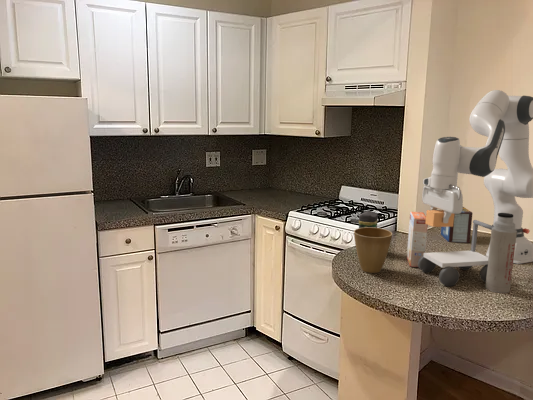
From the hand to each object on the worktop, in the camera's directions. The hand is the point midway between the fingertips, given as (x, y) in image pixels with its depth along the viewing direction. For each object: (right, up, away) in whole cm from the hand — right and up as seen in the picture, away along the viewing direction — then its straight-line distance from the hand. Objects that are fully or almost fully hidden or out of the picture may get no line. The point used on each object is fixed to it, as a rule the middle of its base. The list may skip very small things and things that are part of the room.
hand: (439, 220), depth 164 cm
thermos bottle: (+22, -25, +1) cm, 33 cm away
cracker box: (+1, -19, +30) cm, 36 cm away
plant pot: (-20, -21, +19) cm, 35 cm away
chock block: (0, -2, 0) cm, 2 cm away
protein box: (+34, -13, +68) cm, 77 cm away
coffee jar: (-17, -16, +44) cm, 50 cm away
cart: (+12, -23, +13) cm, 28 cm away
